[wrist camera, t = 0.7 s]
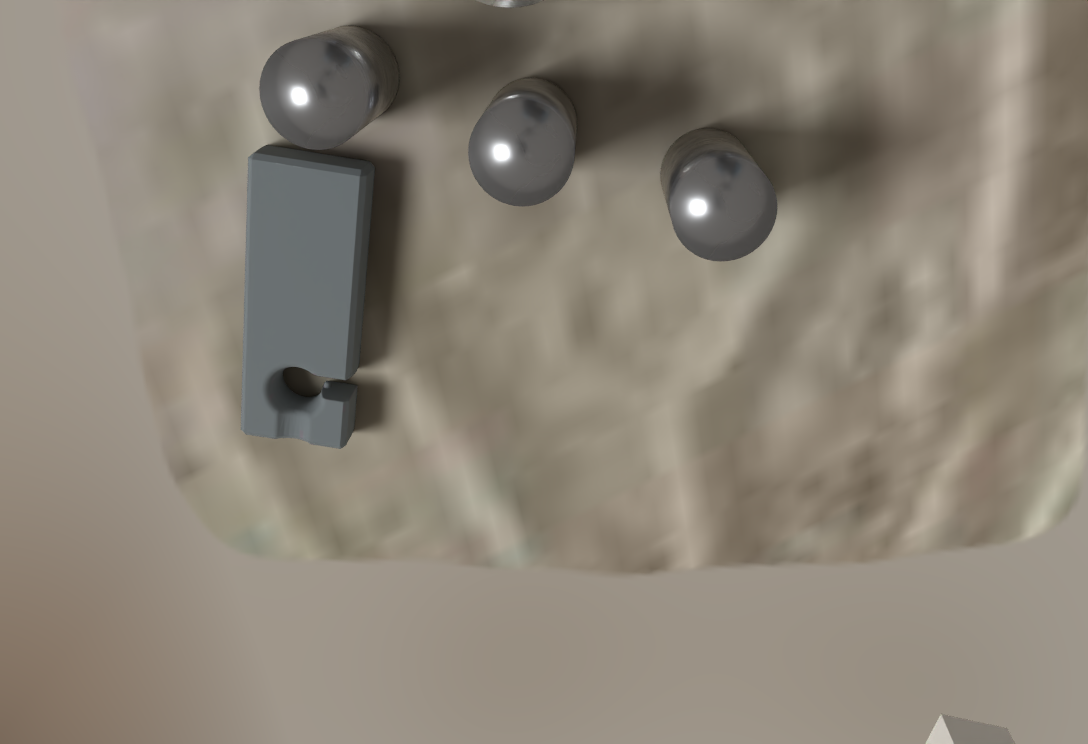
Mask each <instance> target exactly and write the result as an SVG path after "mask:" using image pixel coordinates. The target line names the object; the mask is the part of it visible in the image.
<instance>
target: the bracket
mask: <svg viewBox="0 0 1088 744" xmlns="http://www.w3.org/2000/svg"><path fill="white" fill-rule="evenodd" d="M374 173H375V167H374V166H373V165H372V163H371V162H370V161H365V160H358V159H352V158H346V157H339V156H333V155H327V154H321V153H314V152H308V151H302V150H295V149H289V148H283V147H276V146H270V145H266V146H264V147H262V148H260V149H259V150H257V151H256V152H254V153H253V154H252V155H251V156H249V157H248V185H247V222H246V259H245V296H244V333H243V370H242V407H241V430H242V431H243V432H244V433H245V434H247V435H254V436H260V437H267V438H274V439H277V438H296V439H301V440H304V441H306V442H308V443H310V444H313V445H319V446H326V447H332V448H339V449H341V448H342V447H344V446H345V445H346V444H347V442H348V440H349V439H350V437H351V435H352V433H353V430H354V424H355V412H356V399H357V387H358V386H357V385H353V384H346V383H340V382H333V381H326V382H325V383H324V386H323V388H322V390H321V393H320V394H319V395H317V396H313V397H303V396H300V395H298V394H296V393H294V392H292V391H291V390H290V389H289V388H288V386H287V385H286V383H285V381H284V378H283V370H284V369H285V368H287V367H299V368H303V369H305V370H307V371H309V372H310V373H312V374H314V375H317V376H322V377H328V378H335V379H341V380H347V379H349V378H350V377H352V376H353V375H354V374H355V373H356V371H357V369H358V366H359V362H360V349H361V337H362V324H363V312H364V299H365V287H366V274H367V261H368V249H369V236H370V224H371V211H372V199H373V186H374Z"/></svg>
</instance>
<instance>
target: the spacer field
mask: <svg viewBox="0 0 1088 744" xmlns="http://www.w3.org/2000/svg"><path fill="white" fill-rule="evenodd" d="M398 87H399V68H398V64H397V61H396V58H395V56H394V54H393V52H392V50H391V49H390V47H389V46H388V44H387V43H386V42H385V41H384V40H383V39H382V38H381V37H380V36H378V35H377V34H375V33H374V32H372V31H370V30H368V29H365V28H362V27H358V26H342V27H337V28H334V29H331V30H328V31H324V32H321V33H318V34H314V35H311V36H308V37H304V38H301V39H298V40H295V41H292V42H289V43H287V44H285V45H283V46H281V47H280V48H279V49H277V50H276V51H275V52H274V53H273V54H272V55H271V56H270V58H269V59H268V61H267V62H266V64H265V66H264V68H263V71H262V74H261V79H260V99H261V103H262V107H263V110H264V112H265V114H266V117H267V118H268V120H269V122H270V123H271V125H272V126H273V127H274V129H275V130H276V131H277V132H278V133H279V134H280V135H281V136H283V137H284V138H285V139H287V140H288V141H290V142H291V143H293V144H295V145H297V146H300V147H303V148H307V149H313V150H325V149H330V148H333V147H336V146H339V145H341V144H343V143H344V142H346V141H347V140H348V139H350V138H351V137H352V136H354V135H355V134H356V133H358V132H359V131H360V130H361V129H363V128H364V127H365V126H367V125H368V124H369V123H370V122H372V121H373V120H374V119H376V118H377V117H378V116H380V115H381V114H382V113H383V112H385V111H386V110H387V109H388V108H389V106H390V105H391V104H392V102H393V100H394V99H395V97H396V94H397V91H398ZM576 135H577V116H576V112H575V109H574V106H573V104H572V102H571V100H570V99H569V97H568V96H567V95H566V93H565V92H564V91H563V90H562V89H561V88H560V87H558V86H557V85H555V84H554V83H552V82H550V81H547V80H544V79H540V78H522V79H518V80H515V81H513V82H511V83H509V84H507V85H506V86H505V87H503V88H502V89H501V90H500V91H499V92H498V93H497V94H496V95H495V97H494V98H493V100H492V101H491V103H490V104H489V106H488V107H487V109H486V110H485V112H484V113H483V115H482V116H481V118H480V119H479V121H478V122H477V124H476V125H475V127H474V129H473V131H472V134H471V137H470V141H469V151H468V154H469V162H470V167H471V170H472V172H473V175H474V177H475V179H476V180H477V182H478V183H479V185H480V186H481V187H482V188H483V189H484V191H486V192H487V193H488V194H489V195H490V196H492V197H493V198H495V199H496V200H498V201H500V202H503V203H506V204H509V205H513V206H531V205H536V204H539V203H542V202H544V201H546V200H548V199H550V198H551V197H553V196H554V195H555V194H557V193H558V192H559V191H560V190H561V189H562V187H563V186H564V185H565V183H566V182H567V180H568V178H569V176H570V174H571V171H572V168H573V164H574V156H575V145H576ZM660 178H661V185H662V189H663V192H664V196H665V199H666V203H667V206H668V210H669V213H670V217H671V220H672V224H673V227H674V230H675V232H676V235H677V237H678V238H679V240H680V241H681V243H682V244H683V245H684V246H685V247H686V248H687V249H688V250H689V251H691V252H692V253H694V254H695V255H697V256H699V257H701V258H704V259H707V260H712V261H730V260H735V259H738V258H741V257H743V256H746V255H748V254H749V253H751V252H753V251H754V250H755V249H757V248H758V247H759V246H760V245H761V244H762V243H763V242H764V241H765V239H766V238H767V237H768V235H769V234H770V232H771V230H772V228H773V226H774V223H775V219H776V215H777V198H776V194H775V191H774V188H773V186H772V184H771V182H770V180H769V179H768V177H767V176H766V175H765V174H764V172H763V171H762V170H761V168H760V167H759V166H758V164H757V163H756V162H755V160H754V159H753V158H752V157H751V155H750V154H749V153H748V151H747V150H746V149H745V147H744V146H743V145H742V144H741V142H740V141H739V140H738V139H737V138H735V137H734V136H733V135H731V134H729V133H727V132H725V131H722V130H719V129H713V128H703V129H697V130H694V131H691V132H689V133H687V134H685V135H683V136H682V137H680V138H679V139H678V140H677V141H675V142H674V143H673V145H672V146H671V147H670V148H669V150H668V151H667V153H666V155H665V157H664V159H663V162H662V166H661V173H660Z"/></svg>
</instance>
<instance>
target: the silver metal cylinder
mask: <svg viewBox="0 0 1088 744" xmlns="http://www.w3.org/2000/svg"><path fill="white" fill-rule="evenodd" d="M476 1H478V2H481V3H484V4H487V5H492V6H496V7H507V8H511V7H523V6H528V5H532V4H535V3H538V2H541V1H544V0H476Z"/></svg>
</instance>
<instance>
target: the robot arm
mask: <svg viewBox="0 0 1088 744" xmlns="http://www.w3.org/2000/svg"><path fill="white" fill-rule="evenodd" d="M926 744H1015V742H1014V741H1013V739H1012V737H1011V735H1010V733H1009V731H1008V729H1007V728H1003V727H999V726H994V725H989V724H985V723H980V722H975V721H971V720H967V719H962V718H957V717H953V716H948V715H943V714H941V715H940V717H939V719H938V721H937V723H936V725H935V727H934V729H933V730H932V732H931V734H930V736H929V738H928V740H927V742H926Z"/></svg>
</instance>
